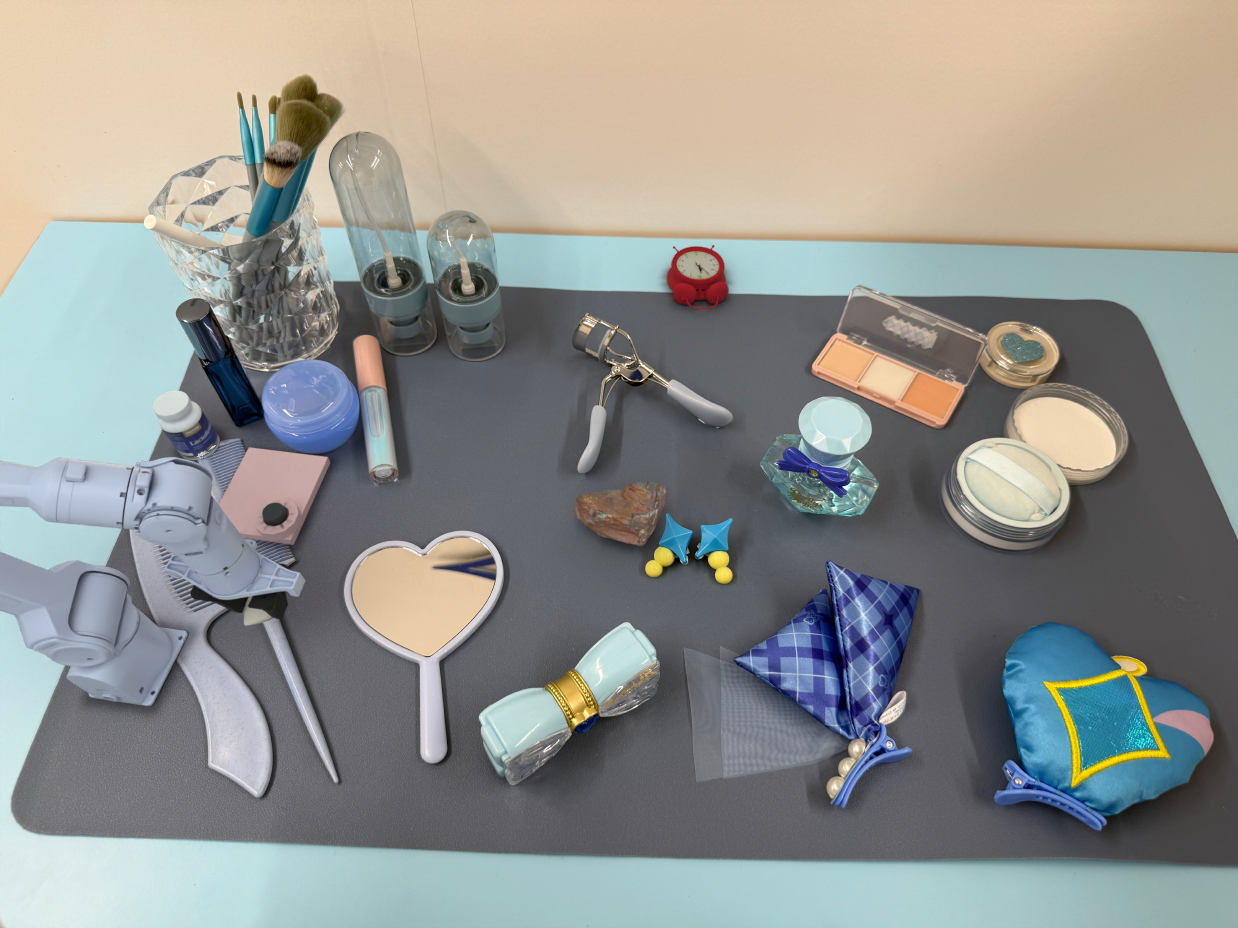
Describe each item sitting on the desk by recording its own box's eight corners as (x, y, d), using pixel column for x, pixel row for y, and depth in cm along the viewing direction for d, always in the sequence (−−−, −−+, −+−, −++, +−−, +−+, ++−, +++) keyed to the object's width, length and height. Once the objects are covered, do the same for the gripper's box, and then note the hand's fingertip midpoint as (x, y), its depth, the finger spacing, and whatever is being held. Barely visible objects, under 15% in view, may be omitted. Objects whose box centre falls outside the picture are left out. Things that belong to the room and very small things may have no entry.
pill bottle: (208, 464, 112) (177, 421, 104) (172, 458, 113) (139, 415, 105) (228, 434, 115) (199, 390, 107) (193, 428, 116) (162, 384, 108)
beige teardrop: (293, 605, 92) (286, 595, 90) (261, 638, 89) (253, 629, 87) (267, 587, 93) (259, 578, 91) (235, 620, 90) (227, 611, 88)
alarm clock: (722, 240, 138) (737, 280, 126) (719, 272, 142) (734, 314, 130) (664, 242, 137) (674, 283, 126) (663, 274, 141) (673, 316, 130)
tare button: (282, 527, 103) (278, 521, 102) (262, 524, 103) (258, 518, 102) (290, 509, 105) (286, 503, 103) (271, 507, 105) (267, 500, 104)
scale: (295, 547, 104) (287, 536, 102) (208, 536, 105) (199, 524, 103) (333, 462, 112) (327, 450, 110) (252, 452, 113) (244, 440, 111)
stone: (662, 504, 109) (666, 463, 101) (674, 556, 104) (679, 517, 96) (573, 515, 108) (571, 475, 100) (581, 569, 103) (579, 530, 95)
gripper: (298, 527, 81) (334, 586, 92) (167, 508, 82) (219, 569, 93) (270, 587, 77) (312, 641, 88) (133, 566, 78) (191, 623, 89)
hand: (262, 608), depth 90 cm, fingers closed on beige teardrop, 4 cm apart
